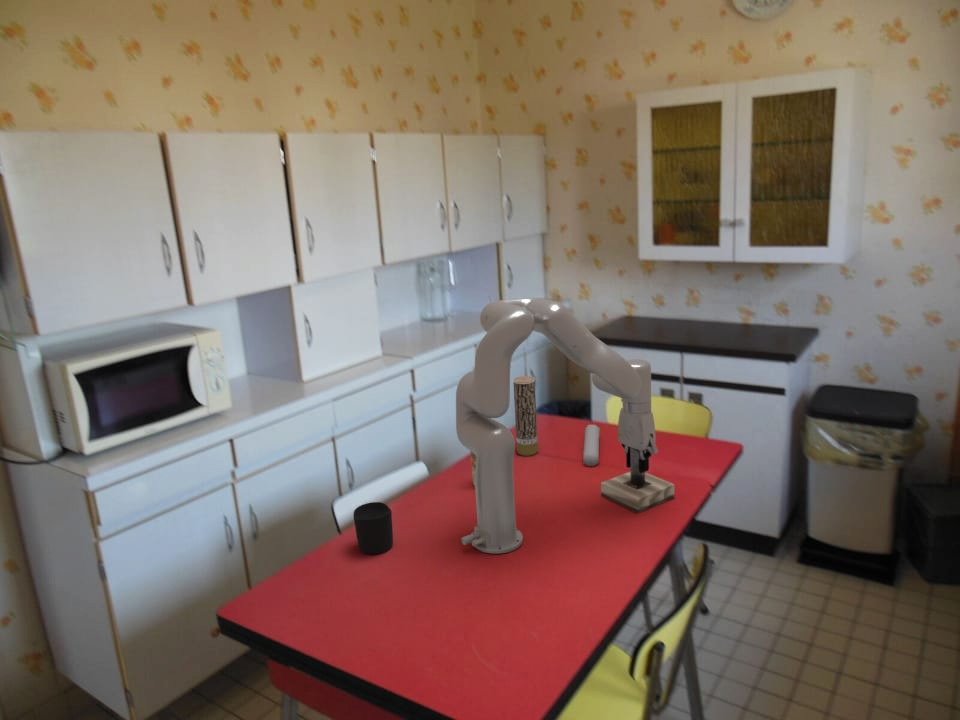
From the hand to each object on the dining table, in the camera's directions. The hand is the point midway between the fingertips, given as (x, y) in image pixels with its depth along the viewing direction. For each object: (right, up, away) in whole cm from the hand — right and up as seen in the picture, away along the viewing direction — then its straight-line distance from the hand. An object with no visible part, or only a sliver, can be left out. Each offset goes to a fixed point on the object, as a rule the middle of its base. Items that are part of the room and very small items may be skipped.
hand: (637, 468), depth 197 cm
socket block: (0, -8, +2) cm, 8 cm away
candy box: (-41, -7, +17) cm, 45 cm away
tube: (-7, 0, +35) cm, 36 cm away
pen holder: (-69, -18, -15) cm, 73 cm away
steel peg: (0, -4, +1) cm, 4 cm away
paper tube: (-28, -1, +38) cm, 47 cm away
